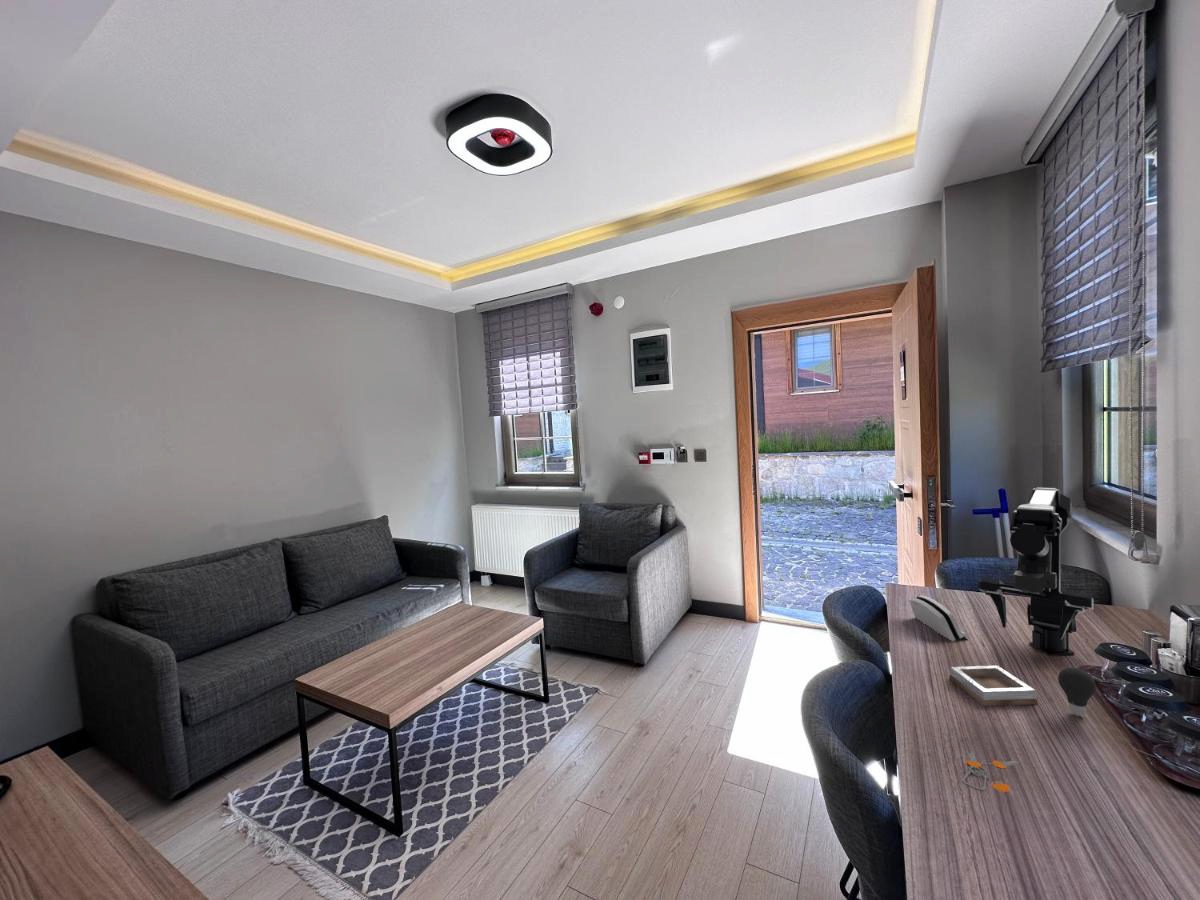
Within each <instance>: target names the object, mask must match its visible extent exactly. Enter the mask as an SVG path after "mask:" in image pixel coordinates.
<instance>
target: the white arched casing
mask: <svg viewBox="0 0 1200 900" xmlns="http://www.w3.org/2000/svg"><path fill="white" fill-rule="evenodd" d="M908 602H909V604H910V607H911V610H912V613H913V616H914V618H915V619H916V618H917V619H918V621H919V620H920V621H919V622H921V621H922V622H923V623H922V622H921V623H922V624H924V625H925V624H926V625H925V626H927V625H928V626H929V627H928V626H927V627H928V628H930V627H931V628H932V630H933V629H934V630H933V631H934V632H936V631H937V632H936V633H938V634H939V633H940V634H939V635H941V636H942V635H943V636H942V637H944V638H945V637H946V638H945V639H947V638H948V639H949V641H950V640H952V641H951V642H955V641H956V640H957V639H962V638H963V637H964V638H963V639H965V638H966V639H969V636H968V635H967V633H965V632H963V631H962V630H961V628H960V626H959V624H958V622H957V621H956V618H955V617H954V615H953V613H952V612H951V611H950V610H949V609H947V608H946V607H945V606H944V605H943V604H941V603H940V602H938V601H936V600H935V599H933V598H931V597H929V596H926V595H917V596H916V597H912V598H911V599H910V600H909V601H908ZM917 619H916V620H917ZM931 628H930V629H931ZM956 638H957V639H956ZM948 639H947V640H948ZM966 639H965V640H966Z"/></svg>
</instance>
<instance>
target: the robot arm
mask: <svg viewBox="0 0 1200 900" xmlns="http://www.w3.org/2000/svg"><path fill="white" fill-rule="evenodd" d="M1031 493H1032V494H1030V495H1029V496H1027V502H1026V503H1024V504H1020V505H1019V506H1018V507H1016V510H1013V512H1012V513H1013V514H1012V518H1011V520H1010V521H1011V522H1010V526H1009V531H1010V532H1011V533H1012V534H1011V536H1010V539H1009V541H1010V545H1011V547H1012V549H1014V550H1015V551H1016V552H1017V556H1016V557H1017V560H1016V562H1017V563H1016V564H1017V565H1016V570H1015V572H1014V573H1013V574H1012V576H1013V579H1012V580H1013V585H1009V584H1005V583H1004V582H1002V580H999V579H998V580H997V579H992V578H984V577H981V578H979V579H978V582H977V590H979V591H981V592H984V595H985V596H988V597H990V598H991V599H992V601H993V604H994V605H995V607H996V610H997V613H998V615H999V619H1000V622H1001V625H1002V628H1004V629H1005V628H1007V622H1008V621H1007V620H1008V619H1007V607H1006V606H1007V604H1006V597H1005V596H1004V595H1003V594H1004V593H1005V594H1012V595H1016V596H1017V595H1018V596H1023V597H1030V601H1029V602H1027V605H1026V606H1027V607H1026V609H1027V610H1026V613H1027V614H1026V616H1027V623H1028V626H1033V630H1032V631H1031V636H1032V637H1031V641H1029V642H1028V644H1029V645H1030V646H1031V647H1033V648H1035V649H1037V650H1038V651H1040V652H1042V653H1045V654H1046V655H1047V656H1063V655H1075V652H1074V650H1071V649H1070V645H1069V643H1070V642H1069V641H1070V640H1069V637H1070V635H1069V634H1073V633H1076V632H1078V631H1077V618H1076V617H1077V615H1078V613H1082V614H1083V613H1084V614H1085V612H1086V611H1085V610H1090V611H1094V603H1095V602H1094V598H1093V597H1092V596H1091V595H1090V594H1089V593H1082V592H1075V591H1071V590H1070V591H1069V590H1065V593H1063V592H1062V591H1061V580H1062V579H1061V567H1062V566H1061V558H1062V557H1061V554H1062V553H1061V551H1062V550H1061V547H1062V545H1061V541H1062V538H1061V537H1062V536H1061V535H1062V533H1063V532H1064V531H1065V530H1066V528H1068V526H1069V525H1070V520H1072V519H1073V511H1074V510H1073V505H1072V499H1071V498H1069V497H1068V496H1066V495H1064V494H1063V493H1062V492H1061V490H1060V489H1059V488H1058V489H1057V488H1056V487H1036V488H1035V487H1034V488H1032V492H1031Z"/></svg>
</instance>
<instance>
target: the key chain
mask: <svg viewBox="0 0 1200 900" xmlns="http://www.w3.org/2000/svg"><path fill="white" fill-rule="evenodd" d="M967 757H968V758H969V759H968V760H966V764H967V765H968V766H969V767H968V769H969V770H968V771H967V773H966V774H965V775H964V776H963V777H962V778H961V782H962V783H963V782H964V783H963V784H965V785H967V786H969V787H971V788H974V789H977V790H980V791H984V792H985V791H986V790H987V787H986V786H987V780H988V781H991V778H990V777H988V776H987V775H986V773H987V772H988V771H987V769H986V768H985V767H983V766H985V765H991V766H994V767H996V768H998V767H999V769H1001V768H1002V769H1003V768H1004V769H1003V770H1005V768H1006V769H1007V768H1008V767H1009V766H1011V767H1012V766H1015V765H1018V764H1019V762H1018V761H1016V760H1009V761H1003V762H1002V761H999V760H993V761H992V763H991V762H985V763H984V762H983V763H980V762H978V761H977V760H976V756H975V753H973V752H969V755H968V756H967ZM981 768H982V769H981ZM971 774H973V775H974V776H976V777H979V778H982V779H983V778H984V779H983V780H984V781H983V782H984V783H983V787H978V786H975V785H973V784H970V783H968V782H966V779H967V778H968V777H969V776H970V775H971ZM984 774H985V775H984ZM968 775H969V776H968ZM993 783H994V782H993ZM993 783H992V784H993ZM992 784H990V786H991V785H992ZM999 785H1001V786H999ZM1007 785H1008V784H1007ZM1007 785H1006V783H1005V784H1002V783H1000V784H998V785H997V783H996V784H994V785H993V787H992V788H993V789H995V790H997V791H999V792H1002V793H1003V792H1005V793H1008V792H1010V791H1011V788H1010V787H1009V785H1008V786H1007Z"/></svg>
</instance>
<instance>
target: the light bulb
mask: <svg viewBox="0 0 1200 900" xmlns="http://www.w3.org/2000/svg"><path fill="white" fill-rule="evenodd" d="M1057 680H1058V681H1057V682H1058V684H1059V686H1060V687H1061V689H1062V691H1063V692H1064V693H1065V695H1066V699H1067V702H1068V710H1069V713H1072V714H1073V715H1074V716H1075V717H1077V718H1080V717H1083V716H1085V715H1086V714H1087V713H1086V712H1087V710H1086V707H1087V705H1088V701H1089V700H1090V699H1091V698H1092V697H1093V696H1094V695H1095V692H1096V690H1097V685H1096V682H1095V680H1094V678H1093V676H1091V675H1090V674H1089V673H1088V672H1087V671H1085V670H1084V669H1081V668H1078V667H1073V666H1072V667H1071V666H1070V667H1066V668H1065V667H1064V668H1063V669H1062V670H1060V671H1059V673H1058V676H1057Z"/></svg>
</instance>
